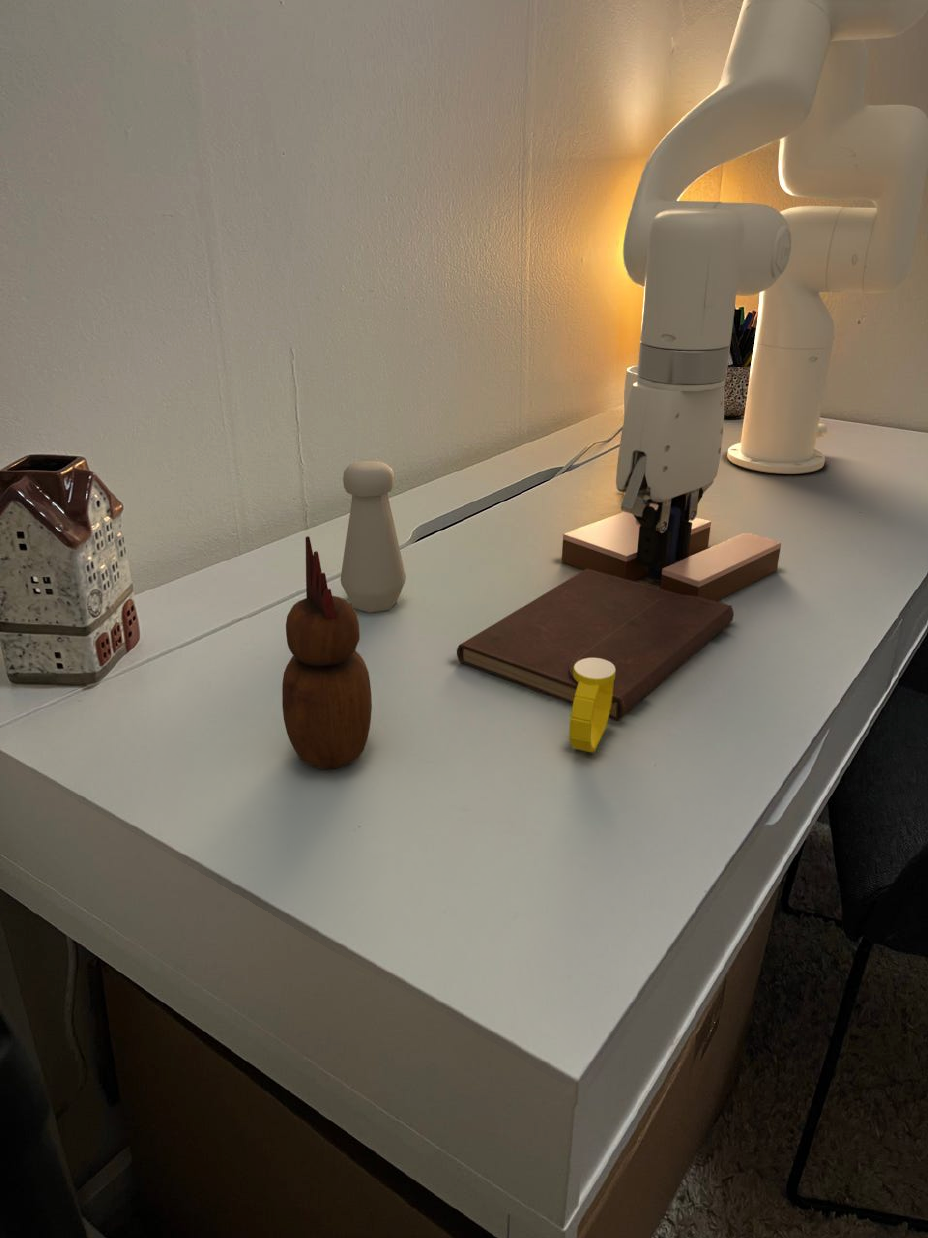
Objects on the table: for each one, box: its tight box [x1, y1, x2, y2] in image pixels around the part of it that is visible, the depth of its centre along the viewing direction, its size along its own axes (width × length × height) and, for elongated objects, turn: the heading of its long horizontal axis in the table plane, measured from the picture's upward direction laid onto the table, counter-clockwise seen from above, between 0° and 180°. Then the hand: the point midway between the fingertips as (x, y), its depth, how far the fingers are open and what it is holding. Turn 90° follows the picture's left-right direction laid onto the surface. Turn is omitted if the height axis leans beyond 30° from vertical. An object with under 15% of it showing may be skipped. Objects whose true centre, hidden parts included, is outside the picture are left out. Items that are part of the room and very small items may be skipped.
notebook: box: [456, 569, 734, 722], centre depth 77 cm, size 15×20×2 cm
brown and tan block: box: [561, 503, 712, 582], centre depth 94 cm, size 14×8×3 cm, turn 133°
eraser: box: [647, 507, 681, 581], centre depth 87 cm, size 2×2×7 cm
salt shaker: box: [340, 460, 407, 614], centre depth 81 cm, size 6×6×13 cm
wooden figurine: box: [281, 536, 373, 770], centre depth 59 cm, size 7×6×15 cm
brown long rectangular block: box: [659, 531, 782, 602], centre depth 88 cm, size 14×4×3 cm, turn 133°
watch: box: [568, 658, 616, 754], centre depth 63 cm, size 6×3×6 cm, turn 157°
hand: (662, 561), depth 88 cm, fingers closed on eraser, 2 cm apart
